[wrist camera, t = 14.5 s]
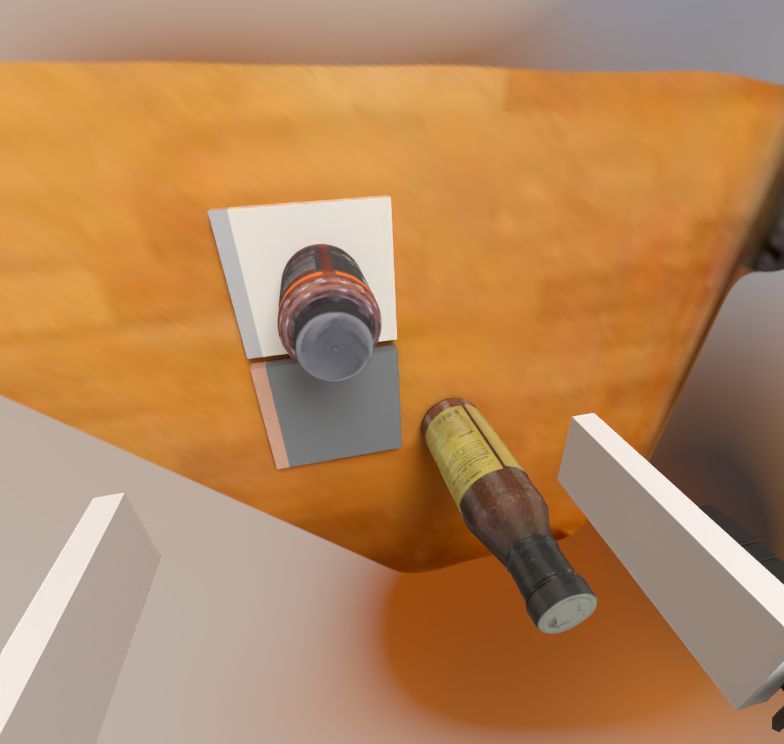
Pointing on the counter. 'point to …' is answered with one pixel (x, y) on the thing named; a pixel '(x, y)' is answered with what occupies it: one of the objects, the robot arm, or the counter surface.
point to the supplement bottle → (327, 313)
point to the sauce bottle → (506, 513)
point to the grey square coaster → (329, 410)
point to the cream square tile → (286, 237)
